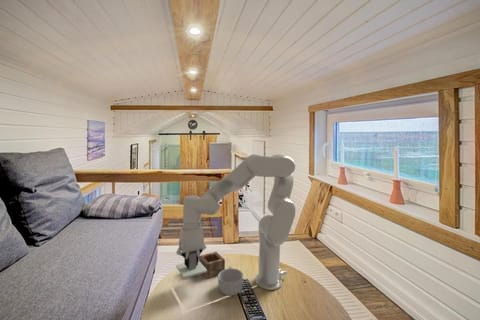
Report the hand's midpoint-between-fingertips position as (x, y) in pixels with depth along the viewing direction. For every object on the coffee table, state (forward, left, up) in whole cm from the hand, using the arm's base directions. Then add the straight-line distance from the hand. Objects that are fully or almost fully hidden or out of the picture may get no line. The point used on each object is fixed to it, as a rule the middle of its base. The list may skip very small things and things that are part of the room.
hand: (191, 265), depth 108 cm
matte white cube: (-4, -11, -12) cm, 17 cm away
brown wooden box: (-13, -8, -12) cm, 19 cm away
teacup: (-15, +8, -12) cm, 21 cm away
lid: (0, 0, -2) cm, 2 cm away
